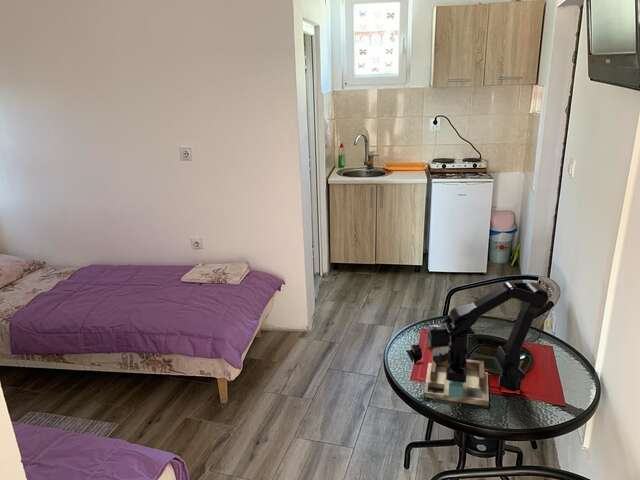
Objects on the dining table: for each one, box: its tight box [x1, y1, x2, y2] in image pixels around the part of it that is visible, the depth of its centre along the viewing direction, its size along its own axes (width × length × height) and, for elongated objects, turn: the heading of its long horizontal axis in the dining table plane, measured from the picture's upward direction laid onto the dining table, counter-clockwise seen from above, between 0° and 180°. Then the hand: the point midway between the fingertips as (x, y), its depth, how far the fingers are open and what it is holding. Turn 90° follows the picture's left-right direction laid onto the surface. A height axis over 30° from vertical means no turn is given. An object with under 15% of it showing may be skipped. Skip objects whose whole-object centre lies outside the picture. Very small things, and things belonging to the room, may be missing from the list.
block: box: [448, 381, 463, 398], centre depth 168 cm, size 4×4×4 cm
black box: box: [406, 343, 423, 365], centre depth 194 cm, size 12×7×5 cm, turn 7°
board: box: [423, 362, 490, 407], centre depth 176 cm, size 21×18×2 cm
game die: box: [424, 322, 444, 334], centre depth 202 cm, size 9×8×10 cm
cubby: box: [430, 357, 485, 387], centre depth 179 cm, size 18×10×4 cm, turn 74°
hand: (456, 383), depth 172 cm, fingers closed
